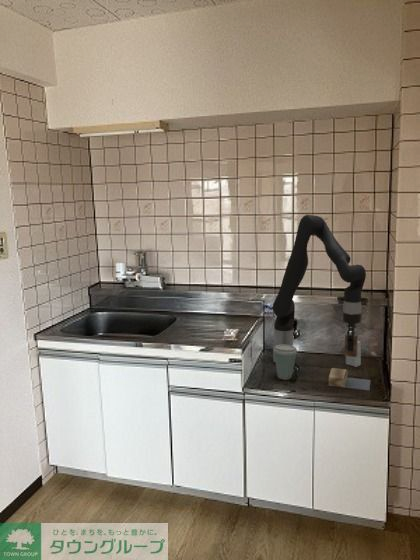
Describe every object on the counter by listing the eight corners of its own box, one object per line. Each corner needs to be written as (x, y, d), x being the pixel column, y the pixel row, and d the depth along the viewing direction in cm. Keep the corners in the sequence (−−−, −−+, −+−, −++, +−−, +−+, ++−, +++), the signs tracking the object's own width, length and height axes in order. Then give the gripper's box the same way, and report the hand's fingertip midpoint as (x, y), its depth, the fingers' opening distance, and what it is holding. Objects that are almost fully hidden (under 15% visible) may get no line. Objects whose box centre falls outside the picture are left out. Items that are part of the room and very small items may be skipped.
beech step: (328, 385, 202) (328, 376, 202) (331, 376, 212) (331, 367, 212) (345, 387, 200) (345, 378, 199) (347, 378, 210) (347, 369, 209)
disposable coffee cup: (275, 371, 219) (275, 341, 217) (298, 373, 216) (298, 343, 213) (271, 380, 210) (271, 349, 207) (295, 382, 206) (295, 351, 203)
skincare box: (361, 365, 225) (361, 341, 222) (355, 367, 222) (356, 343, 219) (350, 361, 229) (350, 338, 227) (344, 364, 226) (345, 340, 224)
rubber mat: (345, 387, 200) (345, 387, 200) (347, 378, 210) (347, 377, 210) (369, 390, 196) (369, 390, 196) (370, 380, 206) (370, 380, 206)
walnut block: (344, 355, 201) (345, 333, 199) (345, 352, 205) (346, 331, 203) (356, 357, 199) (357, 334, 197) (357, 353, 203) (357, 332, 201)
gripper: (344, 306, 206) (343, 343, 209) (341, 314, 193) (340, 353, 196) (362, 307, 203) (360, 344, 207) (360, 316, 190) (358, 355, 194)
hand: (350, 348), depth 201 cm, fingers closed on walnut block, 4 cm apart
